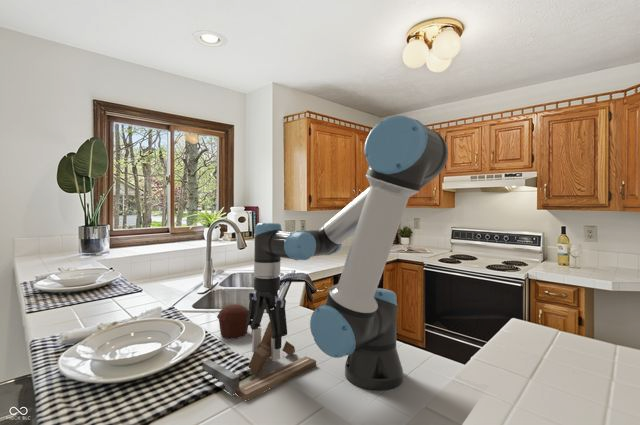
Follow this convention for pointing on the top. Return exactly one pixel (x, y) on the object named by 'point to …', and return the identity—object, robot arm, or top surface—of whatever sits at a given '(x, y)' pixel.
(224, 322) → the muffin
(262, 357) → the wooden block set
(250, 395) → the board
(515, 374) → the top surface
